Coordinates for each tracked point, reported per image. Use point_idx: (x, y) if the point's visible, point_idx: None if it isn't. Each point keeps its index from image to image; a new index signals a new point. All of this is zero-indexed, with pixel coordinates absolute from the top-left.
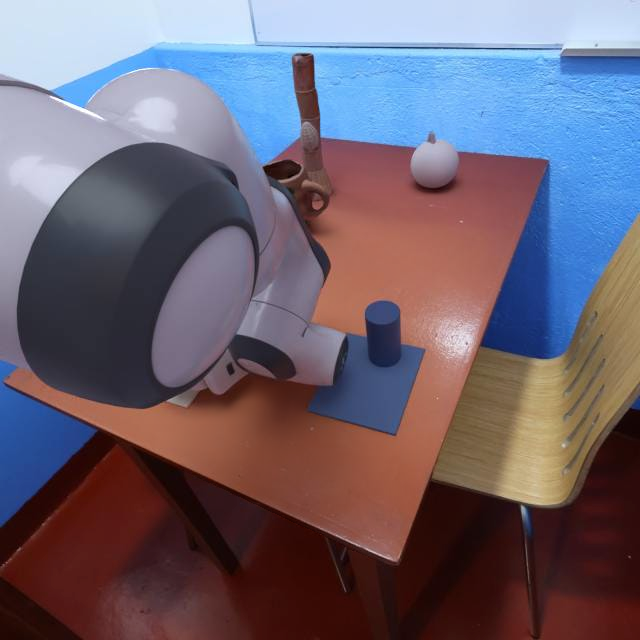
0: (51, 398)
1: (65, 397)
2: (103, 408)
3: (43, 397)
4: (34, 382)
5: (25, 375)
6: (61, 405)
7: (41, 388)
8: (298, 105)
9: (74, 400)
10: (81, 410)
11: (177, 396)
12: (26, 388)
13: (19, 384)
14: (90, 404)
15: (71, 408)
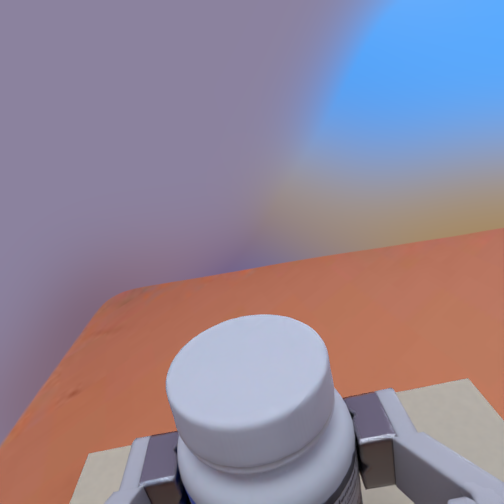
0: (66, 362)
1: (66, 380)
2: (9, 488)
3: (70, 349)
4: (109, 315)
5: (125, 297)
6: (42, 390)
7: (94, 332)
8: None
9: (54, 401)
10: (16, 439)
11: None
12: (95, 316)
13: (105, 304)
14: (33, 443)
15: (28, 414)
